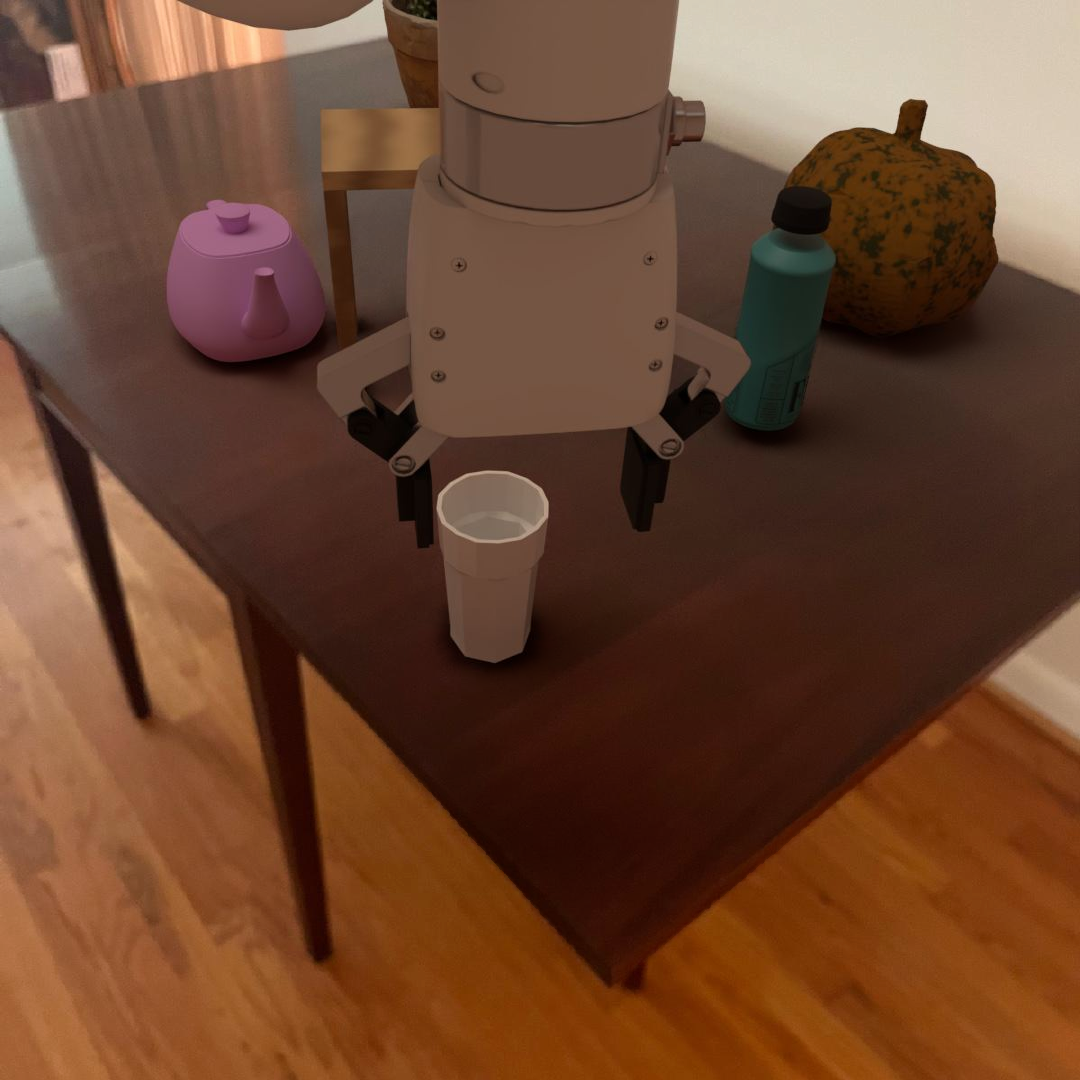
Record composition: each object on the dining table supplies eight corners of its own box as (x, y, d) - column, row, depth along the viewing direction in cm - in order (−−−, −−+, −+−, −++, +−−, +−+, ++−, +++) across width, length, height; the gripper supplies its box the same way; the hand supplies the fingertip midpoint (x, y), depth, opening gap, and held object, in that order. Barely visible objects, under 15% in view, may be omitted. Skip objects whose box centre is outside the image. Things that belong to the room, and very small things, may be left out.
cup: (533, 593, 72) (540, 467, 64) (547, 666, 67) (557, 539, 60) (436, 600, 71) (432, 473, 64) (443, 675, 66) (440, 547, 59)
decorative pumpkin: (791, 360, 94) (848, 129, 82) (740, 266, 110) (781, 63, 98) (1005, 368, 96) (1091, 144, 84) (923, 275, 112) (985, 77, 100)
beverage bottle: (788, 455, 85) (848, 221, 71) (708, 435, 86) (752, 203, 73) (802, 412, 89) (860, 185, 76) (726, 394, 91) (769, 168, 77)
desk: (343, 397, 88) (321, 171, 75) (341, 323, 97) (320, 109, 84) (554, 386, 91) (568, 165, 78) (533, 315, 99) (542, 106, 86)
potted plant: (370, 118, 134) (355, -108, 117) (503, 101, 140) (507, -115, 123) (419, 174, 122) (411, -68, 105) (563, 153, 128) (576, -78, 111)
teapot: (155, 300, 98) (128, 178, 90) (294, 274, 103) (279, 156, 95) (208, 414, 85) (181, 284, 77) (363, 379, 90) (353, 252, 82)
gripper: (759, 95, 39) (693, 456, 51) (290, 100, 37) (332, 479, 48) (832, 179, 34) (740, 562, 46) (287, 191, 31) (335, 594, 43)
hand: (530, 519), depth 47 cm, fingers open, 9 cm apart
